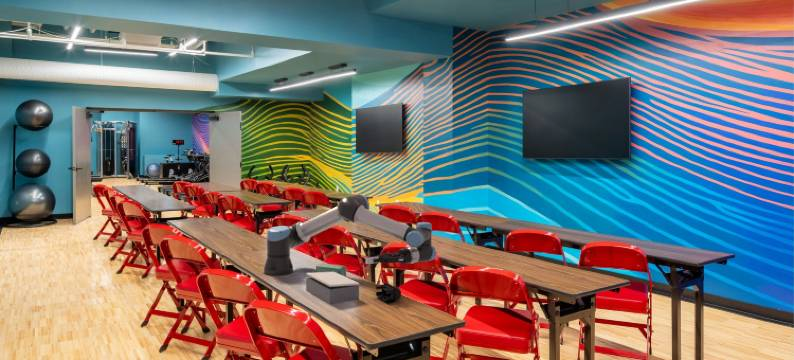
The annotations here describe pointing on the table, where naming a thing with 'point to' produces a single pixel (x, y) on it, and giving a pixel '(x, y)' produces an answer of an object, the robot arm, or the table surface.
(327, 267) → the box
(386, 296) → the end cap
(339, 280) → the cover
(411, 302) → the table surface
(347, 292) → the grey tray
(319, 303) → the table surface
